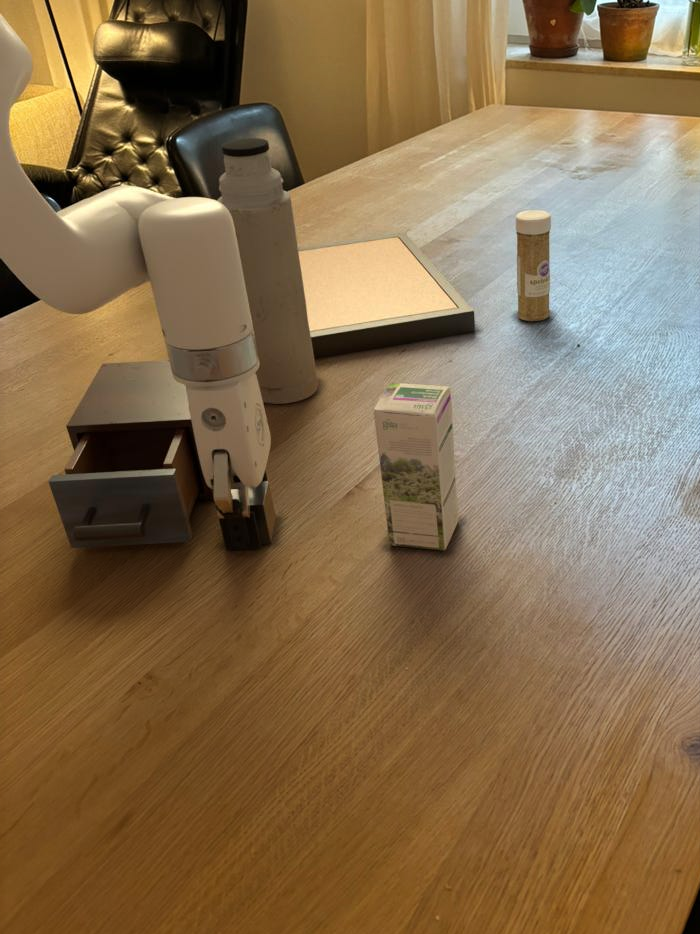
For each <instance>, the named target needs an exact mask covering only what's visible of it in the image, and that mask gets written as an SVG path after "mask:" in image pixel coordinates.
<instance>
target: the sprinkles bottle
mask: <svg viewBox="0 0 700 934" xmlns="http://www.w3.org/2000/svg"><path fill="white" fill-rule="evenodd" d="M551 228H552V217H551V213H549V212H548V211H545V210H539V209H538V210H536V209H533V210H532V209H531V210H524V211H521V212H519V213H517V214H516V215H515V234H516V251H517V252H516V291H517V317H518V318H519V319H520V320H522V321H526V322H539V321H544V320H546V319H548V318H549V317H550V315H551V310H550V292H551V269H550V252H551V251H550V233H551V231H550V230H552V229H551Z"/></svg>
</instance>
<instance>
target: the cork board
mask: <svg viewBox="0 0 700 934" xmlns="http://www.w3.org/2000/svg"><path fill="white" fill-rule="evenodd" d="M298 252H299V259H300V265H301V272H302V279H303V286H304V293H305V300H306V308H307V316H308V323H309V329H310V335H311V341H312V348H313V354H314V359H319V358H324V357H325V358H326V357H330V356H331V357H333V356H338V355H342V354H349V353H355V352H361V351H367V350H372V349H380V348H385V347H390V346H396V345H397V346H398V345H402V344H403V345H404V344H410V343H415V342H421V341H427V340H433V339H439V338H445V337H451V336H457V335H464V334H469V333H475V332H476V323H475V322H476V321H475V318H476V317H475V311H474V309H473V308H472V307H471V306H470V305H469V304H468V303H467V301H466V300H465V299H464V297H462V295H461V294H460V293H459V292H458V291H457V290H456V289H455V288H454V287H453V285H452V283H450V282H449V281H448V279H446V277H445V276H444V275H443V274H442V273H441V272H440V271H439V269H438V268H437V267H436V265H434V264H433V262H431V260H430V259H429V257H427V256H426V254H425V253H424V252H423V251H422V250H421V249H420V247H418V246H417V244H416V243H415V242H414V240H412V239H411V238H410V236H409V235H408V234H407V232H400V233H399V232H397V233H392V234H385V235H377V236H370V237H364V238H363V237H362V238H357V239H349V240H342V241H336V242H335V241H334V242H328V243H322V244H315V245H314V244H313V245H307V246H300V247H299V246H298Z"/></svg>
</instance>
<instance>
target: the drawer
mask: <svg viewBox="0 0 700 934" xmlns="http://www.w3.org/2000/svg"><path fill="white" fill-rule="evenodd" d="M63 470H64V474H53V475H51V476H50V478H49V480H48V485H49V488H50V491H51V494H52V496H53V499H54V502H55V505H56V508H57V511H58V514H59V516H60V519H61V522H62V525H63V529H64V530H65V534H66V536H67V540H68V543H69V546H70V549H80V548H83V549H84V548H101V547H116V546H117V547H118V546H119V547H120V546H136V545H137V546H138V545H155V544H169V543H170V544H171V543H173V544H174V543H188V542H192V538H193V535H194V534H193V530H192V526H191V523H190V518H191V515H192V512H193V509H194V506H195V503H196V501H197V500H196V497H197V494H198V491H199V488H200V485H201V482H202V479H201V475H200V471H199V466H198V462H197V458H196V454H195V450H194V445H193V441H192V437H191V433H190V429H189V427H176V428H158V429H139V430H121V431H103V432H85V433H84V434H83V436H82V438H81V440H80V442H79V444H78V445H77V447H76V449H75V451H74V450H73V453H72V454H71V457H70V459H69V460H68V462H67V463H66V466H65V467H64V469H63Z"/></svg>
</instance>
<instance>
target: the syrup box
mask: <svg viewBox="0 0 700 934" xmlns="http://www.w3.org/2000/svg"><path fill="white" fill-rule="evenodd" d="M373 418H374V426H375V434H376V442H377V450H378V459H379V460H378V461H379V467H380V478H381V485H382V494H383V503H384V510H385V511H384V512H385V518H386V528H387V535H388V537H387V538H388V544H389V546H394V547H405V548H414V549H422V550H423V549H424V550H433V551H445V550H446V549H447V547H448V546H449V543H450V542H451V539H452V537H453V534H454V532H455V529H456V528H457V525H458V523H459V520H460V515H459V503H458V494H457V479H456V461H455V460H456V459H455V440H454V438H455V437H454V419H453V403H452V391H451V387H450V386H448V385H447V386H446V385H434V384H433V385H431V384H418V383H417V384H416V383H403V382H391V383H390V384H388V386H387V387H386V388H385V390H384V391H383V392H382V394H381V396H379V399H378V401H377V402H376V404H375V407H373Z"/></svg>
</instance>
